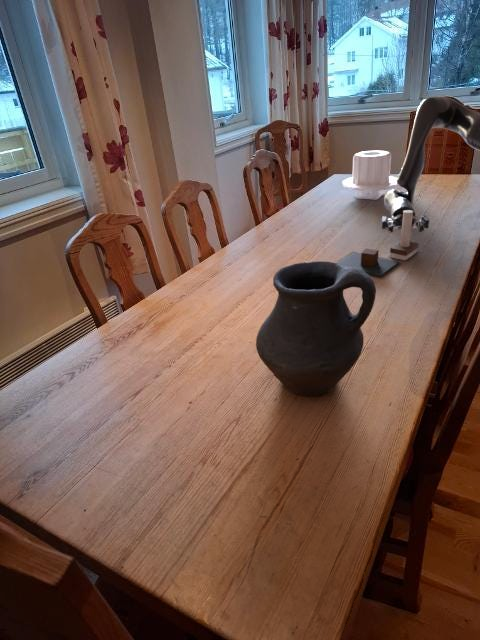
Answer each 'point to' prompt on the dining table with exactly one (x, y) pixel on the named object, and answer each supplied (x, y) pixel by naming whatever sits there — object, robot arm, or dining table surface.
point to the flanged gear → (371, 174)
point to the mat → (377, 270)
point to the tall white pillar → (405, 239)
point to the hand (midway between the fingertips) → (406, 229)
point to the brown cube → (369, 257)
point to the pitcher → (314, 326)
